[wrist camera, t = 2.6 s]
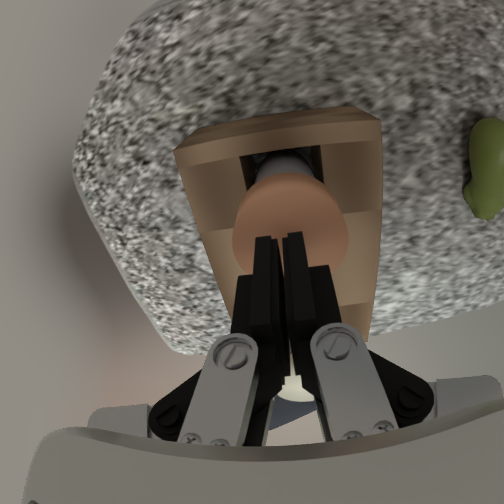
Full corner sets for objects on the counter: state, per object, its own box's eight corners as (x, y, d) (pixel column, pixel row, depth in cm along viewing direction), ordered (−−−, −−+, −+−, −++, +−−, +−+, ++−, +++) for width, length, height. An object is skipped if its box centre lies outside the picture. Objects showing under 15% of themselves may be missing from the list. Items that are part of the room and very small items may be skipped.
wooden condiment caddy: (353, 106, 18) (380, 120, 13) (356, 298, 30) (367, 341, 25) (197, 129, 20) (172, 150, 15) (249, 310, 32) (244, 354, 27)
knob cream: (329, 293, 23) (341, 370, 17) (329, 328, 26) (338, 398, 20) (273, 299, 24) (271, 377, 18) (280, 333, 27) (279, 403, 21)
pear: (537, 136, 11) (512, 227, 18) (500, 109, 15) (486, 194, 22) (497, 135, 13) (474, 236, 19) (459, 108, 16) (449, 200, 23)
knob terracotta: (317, 136, 16) (347, 183, 10) (324, 205, 19) (348, 281, 13) (239, 148, 17) (218, 201, 11) (254, 215, 19) (245, 293, 13)
